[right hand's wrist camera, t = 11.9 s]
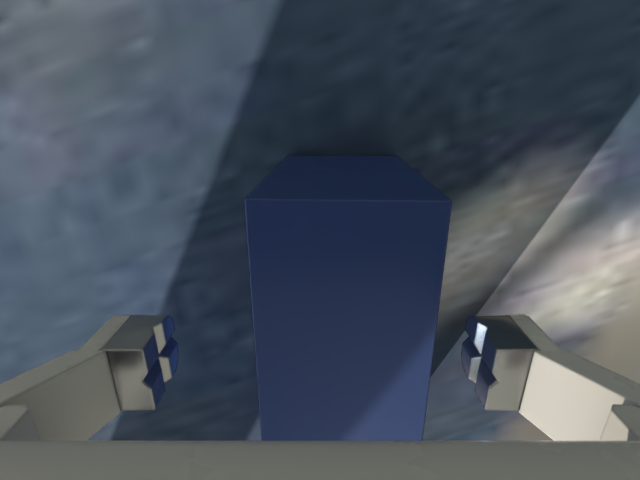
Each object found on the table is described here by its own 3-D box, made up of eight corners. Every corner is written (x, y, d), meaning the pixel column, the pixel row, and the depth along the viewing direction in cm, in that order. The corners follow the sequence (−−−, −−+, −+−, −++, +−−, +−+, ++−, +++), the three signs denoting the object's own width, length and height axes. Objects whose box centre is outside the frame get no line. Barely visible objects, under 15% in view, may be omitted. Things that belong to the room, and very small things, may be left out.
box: (287, 155, 20) (243, 198, 11) (397, 155, 20) (453, 200, 11) (295, 447, 28) (274, 628, 18) (376, 450, 27) (398, 635, 18)
